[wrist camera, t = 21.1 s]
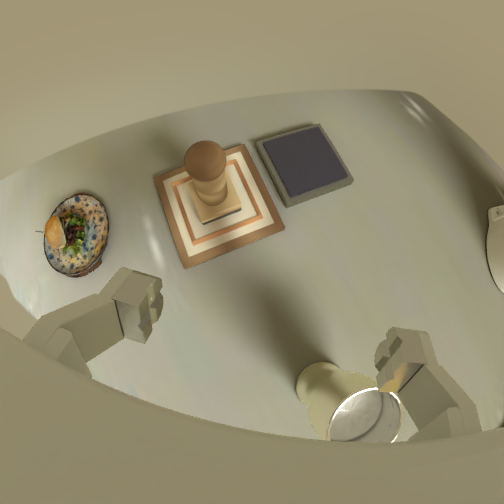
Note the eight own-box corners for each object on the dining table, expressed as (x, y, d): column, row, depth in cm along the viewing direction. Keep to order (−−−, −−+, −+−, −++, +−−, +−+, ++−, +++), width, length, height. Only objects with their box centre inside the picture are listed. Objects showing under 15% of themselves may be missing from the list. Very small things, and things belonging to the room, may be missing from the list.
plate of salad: (116, 270, 35) (88, 259, 27) (50, 283, 34) (18, 275, 27) (113, 188, 37) (90, 164, 30) (51, 207, 36) (23, 188, 29)
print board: (244, 147, 38) (244, 142, 37) (283, 229, 36) (285, 226, 35) (156, 181, 37) (153, 177, 36) (185, 269, 35) (183, 267, 33)
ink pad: (317, 128, 39) (319, 121, 38) (350, 184, 38) (354, 178, 36) (255, 147, 38) (256, 139, 37) (286, 208, 36) (288, 202, 35)
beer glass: (291, 360, 32) (324, 390, 18) (347, 355, 32) (409, 375, 18) (292, 413, 31) (321, 471, 16) (346, 406, 31) (402, 452, 16)
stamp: (226, 177, 36) (219, 121, 25) (241, 210, 35) (239, 162, 24) (190, 191, 36) (168, 139, 24) (203, 225, 35) (184, 183, 23)
